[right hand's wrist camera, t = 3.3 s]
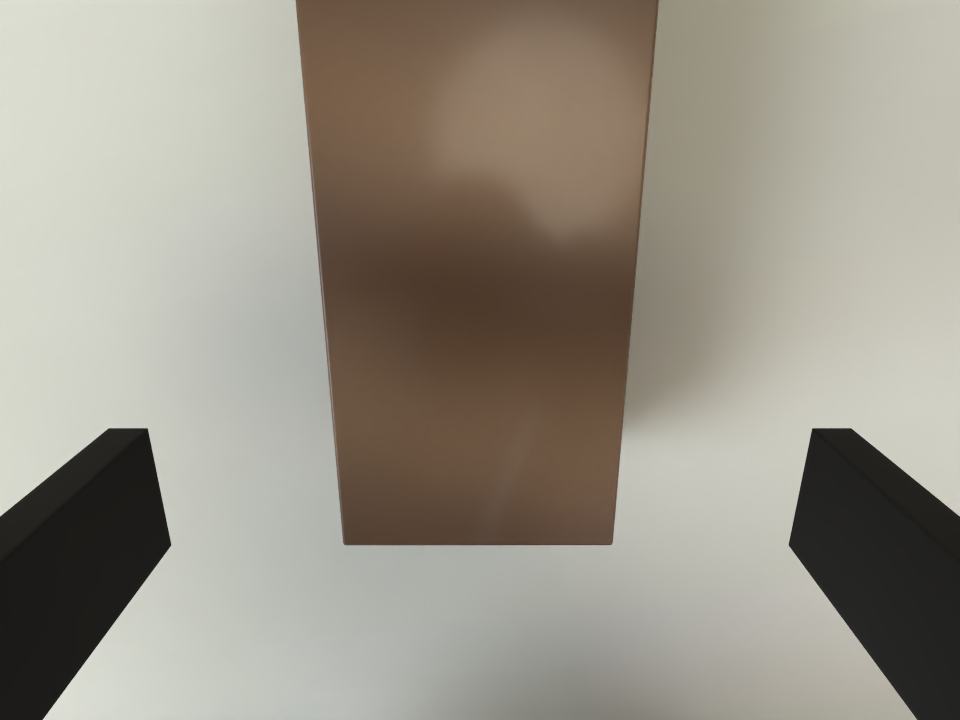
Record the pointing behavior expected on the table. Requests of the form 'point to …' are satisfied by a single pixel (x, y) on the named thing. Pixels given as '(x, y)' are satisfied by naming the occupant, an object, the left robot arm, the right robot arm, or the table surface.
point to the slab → (477, 258)
